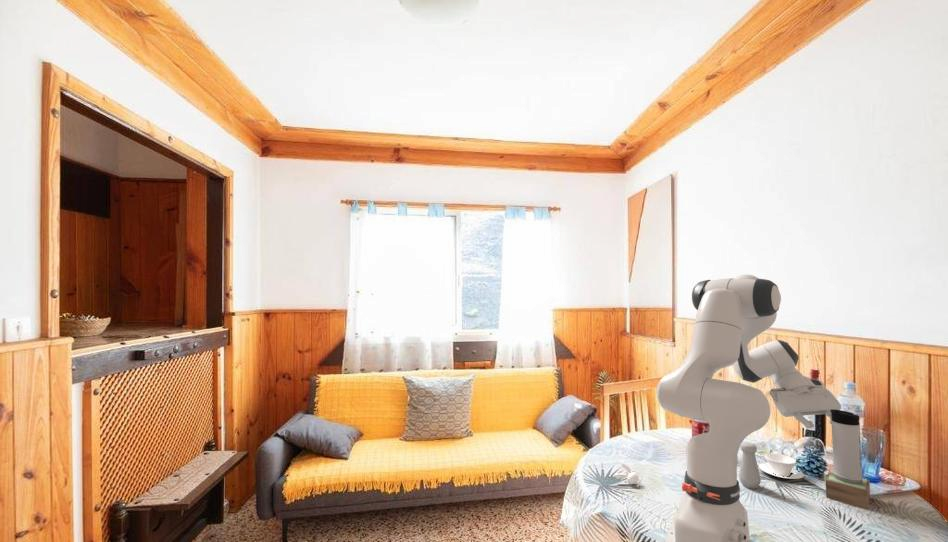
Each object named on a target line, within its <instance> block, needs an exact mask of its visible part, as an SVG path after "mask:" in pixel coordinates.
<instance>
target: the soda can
mask: <svg viewBox="0 0 948 542" xmlns="http://www.w3.org/2000/svg"><path fill="white" fill-rule="evenodd" d="M692 420H693V421H692V422H691V438H692V437H694V436H696V435H699V434H703V433H708V432H709V431H710V424H709V423H707V422H705V421H700V420H696V419H692Z"/></svg>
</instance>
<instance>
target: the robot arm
mask: <svg viewBox="0 0 948 542" xmlns="http://www.w3.org/2000/svg"><path fill="white" fill-rule="evenodd" d="M691 292H692V293H691V302H692V305H693V306H694V309H695V310H697V311H696V312H697V313H696V315H695V322H694V325H693V326H694V327H693V333H692V338H691V343H690V347H689V351H688V353H687V355H686V357H685V359H684V360H683V361H682V362H681V364H680V365H678V367H677V368H676V369H674V370H673V371H671V372H669V373H668V374H665V375H664V376H662V378H660V380H659V382H658V383H657V386H656V393H655V394H656V399H657V402H658V403H659V405H660V407H661V408H662V409H663V410H666V411H668V412H670V413H673V414H675V415H677V416H680V417H683V418H688V419H691V420H693V419H696V420H700V421H705V422H707V423H709V424H710V431H709V432H708V433H703V434H699V435H696V436H694V437H692V436H691V437H690V438H689V440H688V441H687V443H686V446H685V448H686V449H685V453H686V471H685V475H684V477H683V478H684V480H683V482H682V483H681V484H682V485H681V490H682V492H681V496H680V499H679V503H678V505H677V506H678V507H677V509H676V514H674V515H673V517H672V521H671V523H670V526H669V528H668V531H667V533H666V536H665V539H664V542H754V541H753V540H752V539H751V537H750V527H749V515H748V511H747V509H746V507H745V506H743V504H742V502H741V501H740V497H741V495H740V494H741V487H740V482H739V480H738V454H739V450H740V446H741V443H743V442H744V440H745V439H746V438H747V437H748V436H749V435H751V434H753V433H754V432H756V431H758V430H760V429H762V428H764V427H765V425H767V423H768V422H769V420H770V417H771V405H770V402H769V399H768V397H767V396H766V395H765V393H764V392H763V391H762V389H759V388H757V387H754V386H751V385H747V384H745V383H741V382H737V381H736V382H735V381H731V380H723V379H717V378H713V376H714V375H715V374H716V373H717V372H719V370H721V369H725V368H727V367H731V366H732V365H733V368H734V371H735V373H736V374H737V376H738V377H739V378H741V380H742V381H745V382H747V383H757V382H759V381H762V380H763V379H764V378H767V377H769V378H770V379H771V380H772V383H773V385H774V386H775V387H776V388H770V390H769V395H770V397H771V399H772V401H773V404H774V405H775V407H776V409H777V410H778V412H779V414H780V415H782V416H783V417H785V418H787V417H794V418H795V420H797V421H798V422H800V423H801V424H803V426H804V427H805V428H806V429H807V430H809V429H813V428H814V427H815V425H814V423H813V422H812V420H808V419H807V418H806V417H805V416H815V415H816V416H817V415H826V416H827V417H829V419H830V421H829V424H831V425H832V421H831V420H832V416H831V412H830V410H832V409H835V410H841V409H842V404H841V403H840V401H839V400H838V399H837V397H836V396H835V395H834V394H833V393H832V392H831V391H830V390H829V389H827V388H825V383H824V382H823V381H822V380H819V379H816V378H810V377H808V376H804V375H803V374H802V373H801V371H799V370H797V368H796V367H797V365H798V362H799V359H800V358H799V355H798V353H797V352H796V351H795V349H793V347H792V346H791V345H790V344H789V342H787V341H784V340H780V339H776V340H771V341H769V342H767V343H763V344H759V346H756V347H755V348H751V349H750V350H749V347H748V346H749V345H750V343H751V342H752V340H753V339H755V338H756V337H757V336H759V335H760V334H762V333H764V332H765V331H767V330H768V329H770V328H771V327H772V326H773V324H774V323H775V321H776V320H777V316H778V314H777V313H778V311H779V309H780V307H781V306H780V305H781V302H782V297H781V296H782V295H781V293H780V290H779V287H778V285H777V284H776V283H775V282H773V281H772V280H771V279H770V280H769V279H765V278H759V277H757V276H755V275H751V274H741V275H738V276H735V277H734V278H718V279H712V280H711V279H706V280H701V281H699V282H697V283H696V284H695V286H694V287H693V288H692V291H691Z"/></svg>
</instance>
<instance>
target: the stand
mask: <svg viewBox="0 0 948 542" xmlns="http://www.w3.org/2000/svg"><path fill="white" fill-rule="evenodd" d="M870 485H871V484H870V480H869V479H867V478H864V477H862V483H861V484H851V483H846V482H843V481H840V480H838V479H837V478H835V477H834V470H829V471H828V473H827V475H826V478H825V498H826V497H827V498H826V499H830V498H831V500H835V501H837V500H838V501H837V502H841V501H842V503H844V502H845V504H849V505H852V506H856V507H860V508H863V509H866V510H869V509H870V502H871V487H870Z"/></svg>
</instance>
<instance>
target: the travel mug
mask: <svg viewBox="0 0 948 542" xmlns="http://www.w3.org/2000/svg"><path fill="white" fill-rule="evenodd" d="M830 412H831V416H832V420H830V421H832V424H831V441H832V442H831V443H832V462H833V463H832V464H833V471H834V477H835V478H837V479H838V480H840V481H843V482H846V483H851V484H861V483H862V478H863V464H862V446H861V445H862V444H861V441H862V440H861V439H862V438H861V427H860V426H861V423H860V415H858V414H855V413H853V412H850V411H846V410H841V409H840V410H835V409H832V410H830Z"/></svg>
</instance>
